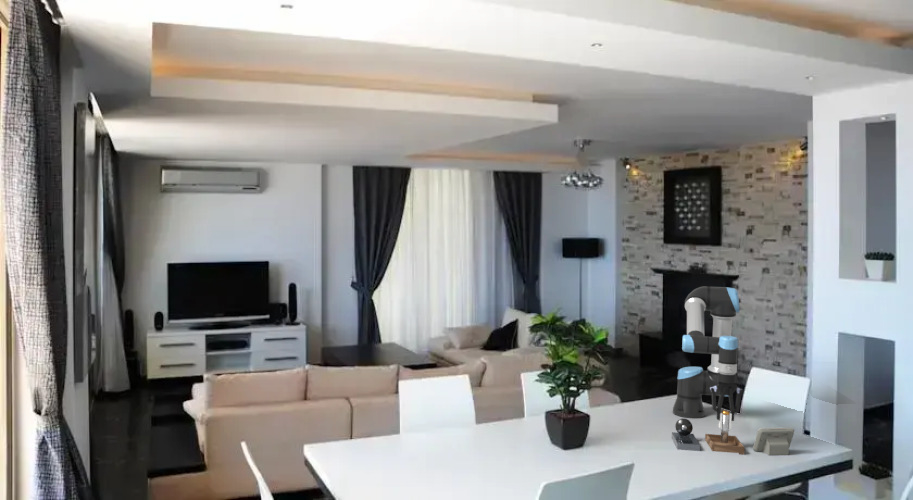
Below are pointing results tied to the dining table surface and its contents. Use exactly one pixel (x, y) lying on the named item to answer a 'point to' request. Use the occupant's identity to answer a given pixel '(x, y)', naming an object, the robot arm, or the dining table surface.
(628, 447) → the dining table surface
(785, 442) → the digital clock
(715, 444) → the walnut tray
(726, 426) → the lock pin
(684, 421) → the tensioner block
